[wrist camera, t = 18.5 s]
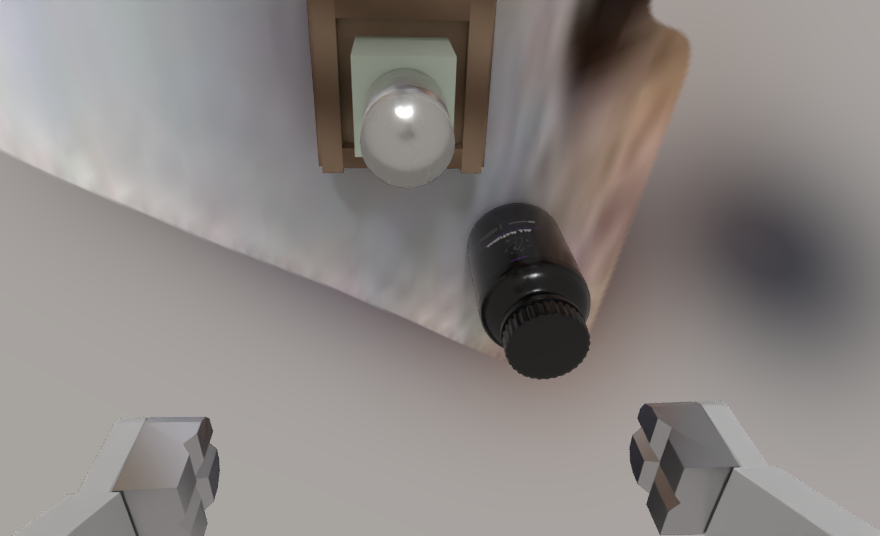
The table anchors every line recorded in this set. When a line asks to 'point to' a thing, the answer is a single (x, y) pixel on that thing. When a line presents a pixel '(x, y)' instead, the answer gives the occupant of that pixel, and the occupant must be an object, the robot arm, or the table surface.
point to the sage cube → (399, 52)
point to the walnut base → (410, 15)
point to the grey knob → (406, 129)
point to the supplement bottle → (529, 290)
